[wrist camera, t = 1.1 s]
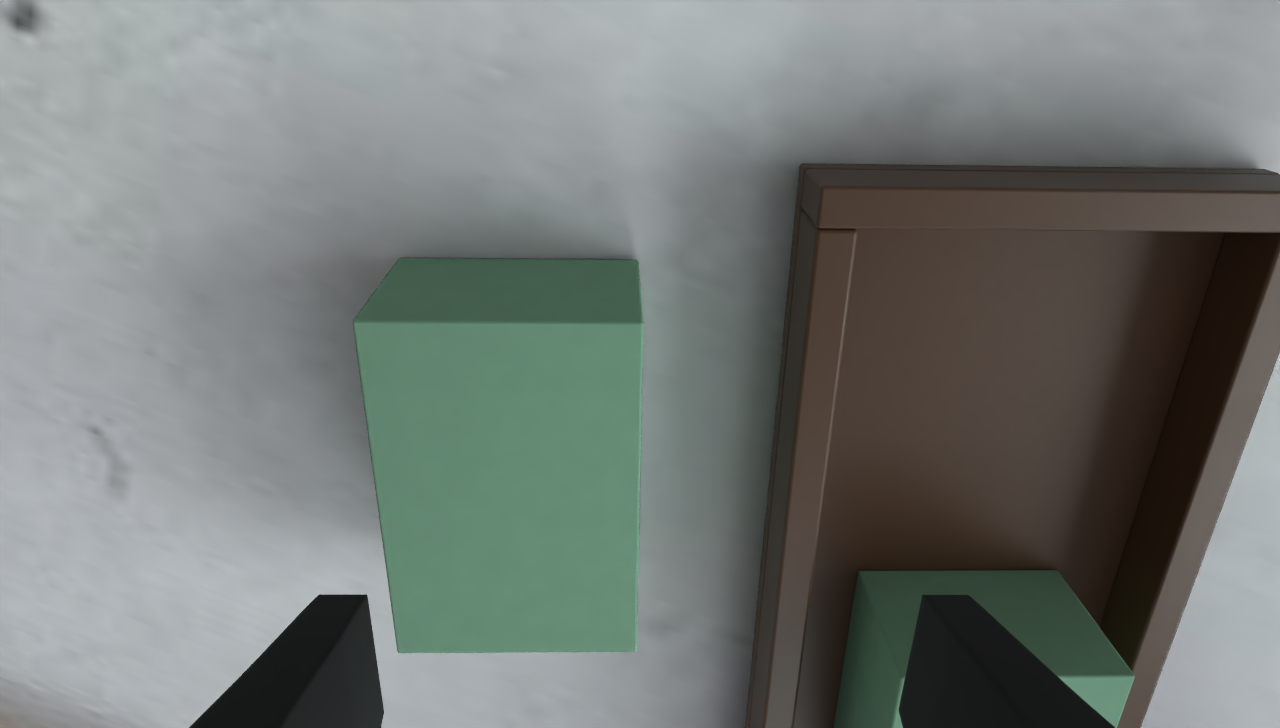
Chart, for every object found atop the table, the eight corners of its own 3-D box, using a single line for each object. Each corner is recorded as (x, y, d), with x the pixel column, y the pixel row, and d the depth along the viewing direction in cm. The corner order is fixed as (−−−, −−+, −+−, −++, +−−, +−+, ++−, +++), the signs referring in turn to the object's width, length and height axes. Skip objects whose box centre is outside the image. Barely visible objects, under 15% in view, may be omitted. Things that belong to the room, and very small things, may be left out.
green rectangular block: (633, 549, 21) (637, 652, 18) (430, 549, 21) (397, 654, 18) (638, 259, 18) (644, 322, 15) (398, 257, 18) (351, 320, 14)
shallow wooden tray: (1058, 795, 25) (1093, 859, 23) (737, 799, 25) (747, 864, 23) (1265, 168, 17) (1340, 192, 16) (799, 163, 17) (820, 186, 15)
